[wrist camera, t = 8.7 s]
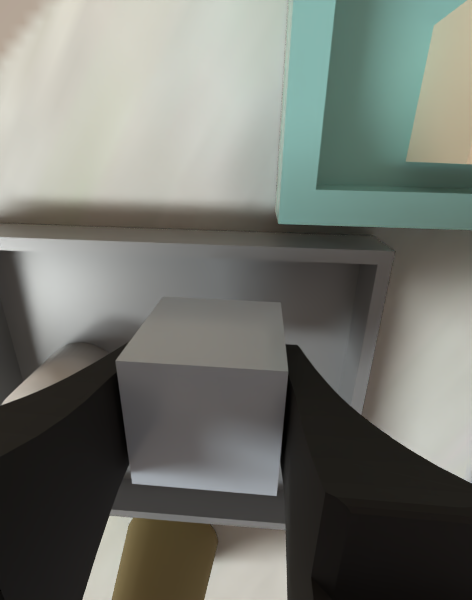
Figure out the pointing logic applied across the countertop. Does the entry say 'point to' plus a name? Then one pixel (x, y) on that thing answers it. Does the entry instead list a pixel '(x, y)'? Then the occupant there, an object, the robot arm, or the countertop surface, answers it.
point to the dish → (361, 119)
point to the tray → (190, 284)
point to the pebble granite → (58, 368)
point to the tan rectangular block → (446, 94)
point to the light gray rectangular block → (206, 395)
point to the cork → (165, 560)
